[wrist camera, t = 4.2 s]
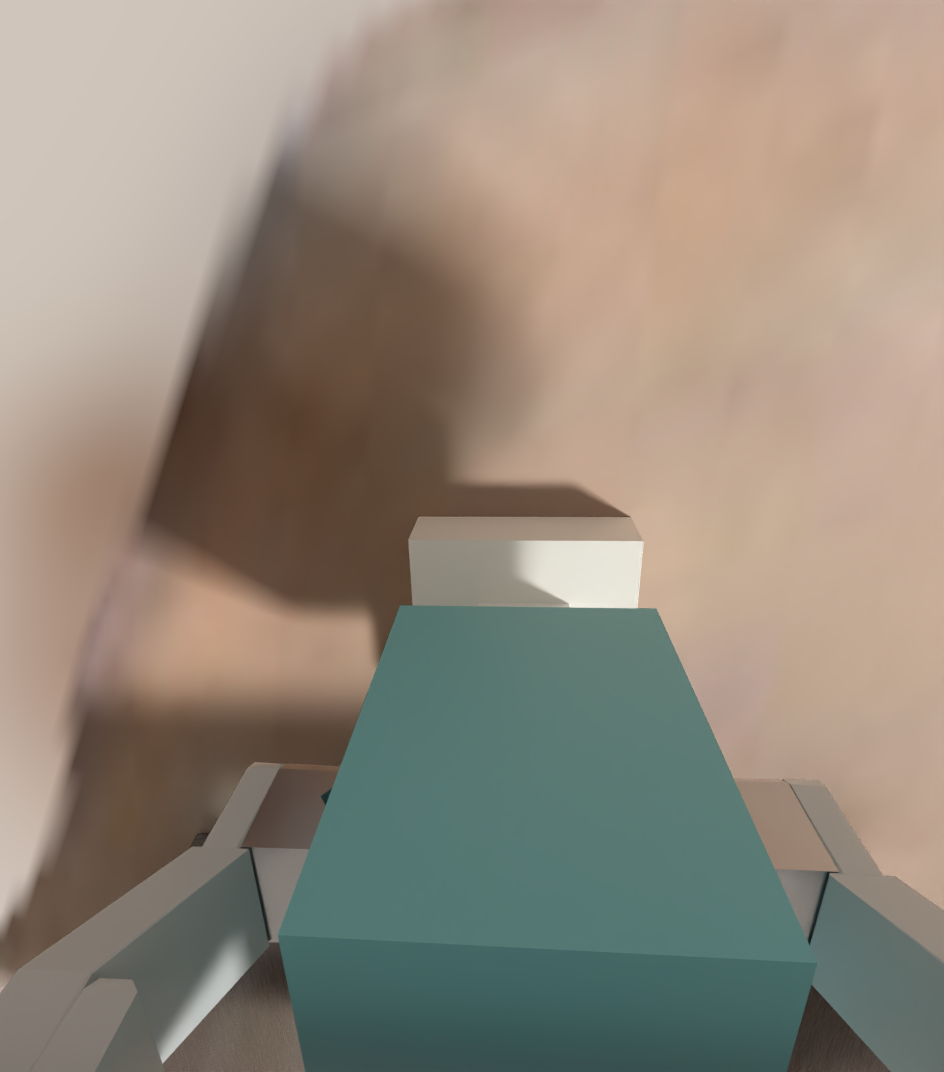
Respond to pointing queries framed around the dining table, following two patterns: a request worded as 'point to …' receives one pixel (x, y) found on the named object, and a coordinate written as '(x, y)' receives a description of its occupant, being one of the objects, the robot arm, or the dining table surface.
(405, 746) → the peg
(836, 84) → the dining table surface
